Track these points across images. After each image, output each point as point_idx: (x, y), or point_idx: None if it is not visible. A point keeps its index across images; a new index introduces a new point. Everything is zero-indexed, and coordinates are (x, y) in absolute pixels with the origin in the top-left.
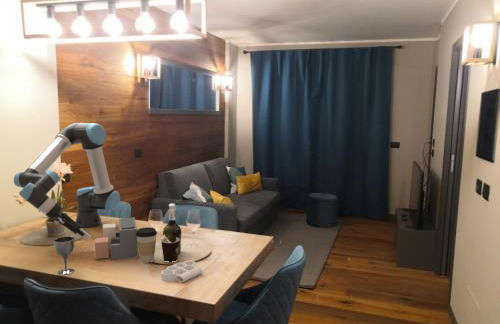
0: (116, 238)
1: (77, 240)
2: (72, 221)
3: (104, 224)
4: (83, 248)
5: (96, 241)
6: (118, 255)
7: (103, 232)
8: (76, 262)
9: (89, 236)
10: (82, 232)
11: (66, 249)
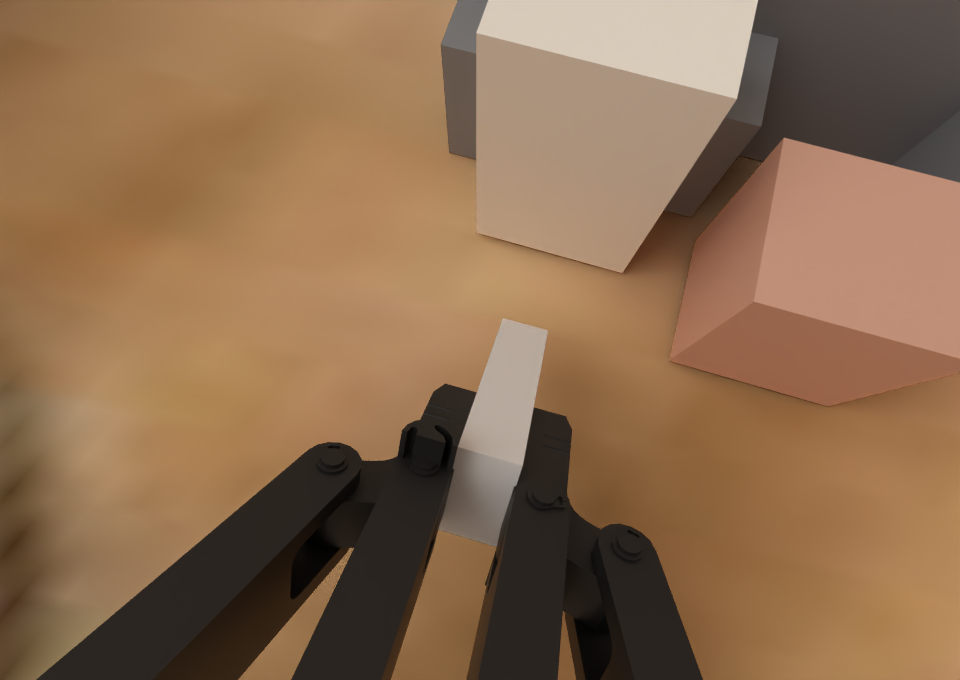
0: (759, 68)
1: (33, 423)
2: (325, 656)
3: (505, 17)
4: (381, 431)
5: (928, 328)
6: None
7: (703, 142)
8: (823, 613)
9: (544, 346)
10: (547, 442)
11: None
